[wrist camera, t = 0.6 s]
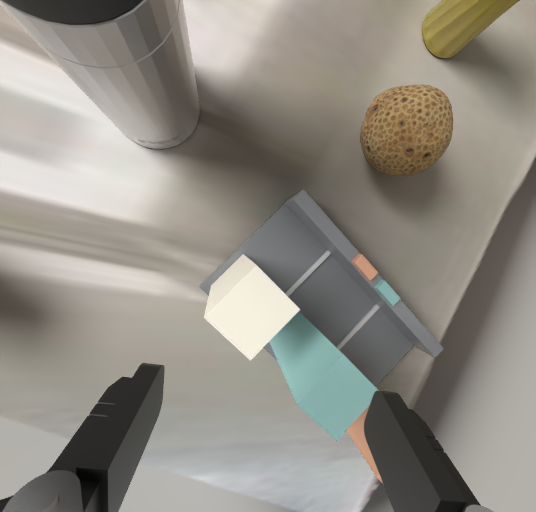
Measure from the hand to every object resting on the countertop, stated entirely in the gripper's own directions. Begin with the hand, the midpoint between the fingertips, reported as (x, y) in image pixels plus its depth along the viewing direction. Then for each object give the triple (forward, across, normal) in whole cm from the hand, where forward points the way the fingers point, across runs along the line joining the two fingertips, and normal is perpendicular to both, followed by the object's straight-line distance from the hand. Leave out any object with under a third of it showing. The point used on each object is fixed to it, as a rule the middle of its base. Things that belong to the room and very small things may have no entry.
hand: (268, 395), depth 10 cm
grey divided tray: (+22, -8, +7) cm, 24 cm away
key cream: (+20, +2, +4) cm, 21 cm away
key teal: (+19, -6, +10) cm, 23 cm away
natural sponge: (+28, -12, -13) cm, 33 cm away
